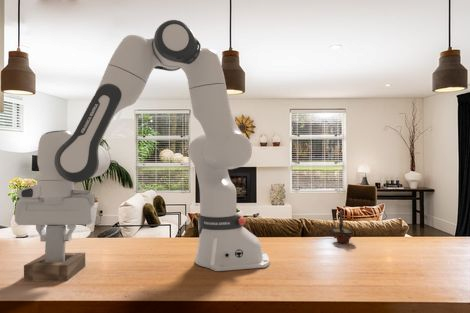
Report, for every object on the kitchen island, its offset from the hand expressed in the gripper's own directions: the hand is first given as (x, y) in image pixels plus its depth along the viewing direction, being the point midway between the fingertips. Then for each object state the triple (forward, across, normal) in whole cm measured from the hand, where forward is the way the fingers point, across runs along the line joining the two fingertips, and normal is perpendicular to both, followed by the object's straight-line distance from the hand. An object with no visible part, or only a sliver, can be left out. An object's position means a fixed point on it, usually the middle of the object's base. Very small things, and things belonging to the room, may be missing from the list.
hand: (56, 240), depth 91 cm
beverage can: (+8, 0, 0) cm, 8 cm away
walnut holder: (+9, 0, 0) cm, 9 cm away
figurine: (+9, -89, -29) cm, 94 cm away
